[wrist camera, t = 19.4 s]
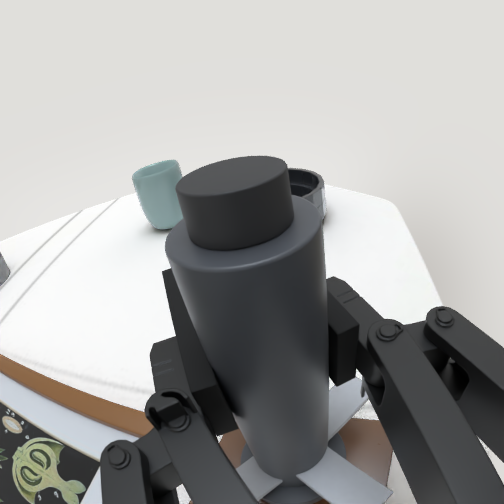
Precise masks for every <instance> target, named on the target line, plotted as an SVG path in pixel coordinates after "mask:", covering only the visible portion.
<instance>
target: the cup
mask: <svg viewBox="0 0 504 504" xmlns="http://www.w3.org/2000/svg"><path fill="white" fill-rule="evenodd" d="M182 178H183V177H182V174H181V170H180V167H179V164H178V162H177V161H176V160H167V161H162V162H158V163H154V164H151V165H149V166H146V167H144V168H142V169H140V170H138V171H136V172H135V173H134V174H133V176H132V180H133V184H134V187H135V190H136V193H137V196H138V199H139V202H140V205H141V207H142V210H143V212H144V214H145V216H146V218H147V220H148V221H149V223H150V224H151V225H152V226H153V227H155V228H157V229H161V230H164V229H170V228H173V227H174V226H175V225H176V224H177V223H178V222H179V221H181V220H182V219H183V215H182V211H181V208H180V204H179V201H178V198H177V194H176V191H175V187H176V184H177V183H178V181H179V180H180V179H182Z"/></svg>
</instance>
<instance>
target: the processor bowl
mask: <svg viewBox="0 0 504 504" xmlns="http://www.w3.org/2000/svg"><path fill="white" fill-rule="evenodd" d="M288 174H289V181H290V188H291V195H295V196H298V197H302V198H304V199H306V200H308V201H310V202H311V203H313V204H314V205H315V206H316V207H317V209H318V210H319V212H320V214H321V217H322V220H323V219H324V216H325V213H326V199H325V188H324V181H323V179H322V177H321V175H319V174H317V173H315V172H313V171H309V170H305V169H296V168H288Z"/></svg>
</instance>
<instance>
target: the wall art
mask: <svg viewBox="0 0 504 504" xmlns="http://www.w3.org/2000/svg"><path fill="white" fill-rule="evenodd" d="M153 427H154V426H153V425H152V424H151V423H150V422H149V420H148V419H147V418H146V416H145V412H142V411H138V410H135V409H132V408H129V407H125V406H122V405H119V404H116V403H113V402H110V401H107V400H104V399H102V398H99V397H96V396H93V395H91V394H88V393H85V392H83V391H80V390H77V389H75V388H72V387H70V386H67V385H65V384H63V383H60V382H58V381H55V380H53V379H51V378H49V377H46V376H44V375H42V374H40V373H37V372H35V371H33V370H31V369H29V368H27V367H25V366H23V365H21V364H19V363H17V362H15V361H13V360H11V359H9V358H7V357H5V356H3V355H1V354H0V504H102V493H101V477H100V457H101V453H102V451H103V450H104V448H105V447H106V446H107V445H108V444H109V443H111V442H113V441H116V440H128V441H130V442H134V441H136V440H138V439H139V438H141V437H143V436H144V435H146V434H147V433H148V432H150V431H151V430H152V429H153Z"/></svg>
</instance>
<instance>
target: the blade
mask: <svg viewBox="0 0 504 504" xmlns="http://www.w3.org/2000/svg"><path fill="white" fill-rule="evenodd" d="M175 191H176V194H177V198H178V201H179V204H180V208H181V211H182V215H183V219H182V220H181V221H179V222H178V223H177V224H176V225H175V226H174V227H173V228H172V230H171V231H170V232H169V234H168V236H167V238H166V242H165V251H166V255H167V257H168V260H169V263H170V266H171V268H172V271H173V274H174V277H175V279H176V282H177V285H178V287H179V290H180V292H181V295H182V298H183V300H184V303H185V305H186V308H187V310H188V313H189V315H190V318H191V320H192V323H193V325H194V328H195V330H196V333H197V335H198V337H199V340H200V342H201V345H202V347H203V349H204V352H205V354H206V356H207V359H208V361H209V363H210V364H211V367H212V369H213V371H214V374H215V376H216V378H217V380H218V383H219V385H220V387H221V389H222V391H223V394H224V396H225V398H226V400H227V402H228V404H229V407H230V409H231V411H232V413H233V416H234V418H235V421H236V422H237V424H238V426H239V428H240V430H241V432H242V434H243V436H244V438H245V440H246V444H245V446H244V448H243V451H242V454H241V462H240V465H241V466H239V467H238V468H237V469H236V470H237V472H238V473H239V475H240V476H241V478H242V479H243V481H244V482H245V484H246V485H247V487H248V488H249V490H250V491H251V492H252V494H253V495H254V497H255V498H256V499H257V501H259V500H260V499H262V500H264V501H265V502H267V503H270V504H313V503H315V502H318V501H320V500H321V499H323V498H324V499H325V500H326V501H328V502H329V503H330V504H384V502H385V501H386V500H387V499H388V498H389V497H390V496H391V495H392V493H393V491H392V490H390V489H388V488H387V487H385V486H384V485H382V484H381V483H379V482H378V481H376V480H375V479H373V478H372V477H370V476H369V475H367V474H366V473H364V472H363V471H361V470H360V469H358V468H357V467H355V466H354V465H353V464H351V463H350V462H348V461H347V460H346V448H345V445H344V442H343V440H342V438H341V436H340V435H339V433H338V431H339V430H340V429H341V428H342V427H343V426H344V425H345V424H346V423H347V422H348V421H349V420H350V419H351V418H352V417H353V416H354V415H355V413H356V412H357V411H358V410H359V409H360V408H361V407H362V406H363V405H364V404H365V403H366V402H367V400H368V399H369V397H368V395H367V393H366V391H365V396H364V397H363V398H361V393H360V392H361V385H362V380H361V379H359V378H357V377H356V376H355V378H354V379H352V380H350V381H348V382H346V383H344V384H342V385H340V386H338V387H336V385H334V386H333V387H332V388H331V389H330V390H329V342H328V309H327V287H326V269H325V253H324V239H323V227H322V217H321V214H320V212H319V210H318V209H317V207H316V206H315V205H314V204H313V203H311V202H310V201H308V200H306V199H304V198H302V197H298V196H295V195H291V188H290V181H289V174H288V168H287V164H286V163H285V161H283V160H282V159H279V158H275V157H269V156H247V157H239V158H233V159H228V160H223V161H220V162H216V163H213V164H209V165H206V166H204V167H201V168H199V169H197V170H195V171H193V172H191V173H189V174H187V175H186V176H184V177H183V178H182V179H180V180H179V181H178V183H177V184H176V187H175ZM191 501H192V500H191Z"/></svg>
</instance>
